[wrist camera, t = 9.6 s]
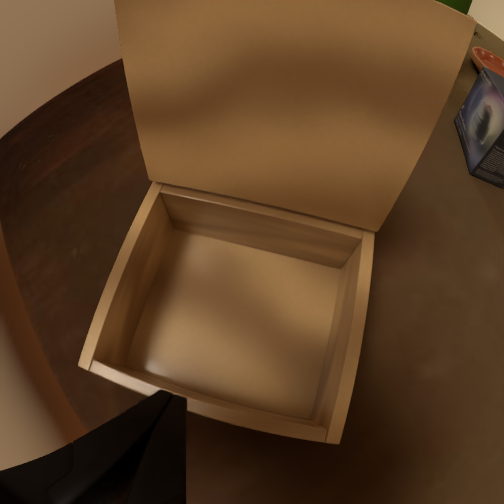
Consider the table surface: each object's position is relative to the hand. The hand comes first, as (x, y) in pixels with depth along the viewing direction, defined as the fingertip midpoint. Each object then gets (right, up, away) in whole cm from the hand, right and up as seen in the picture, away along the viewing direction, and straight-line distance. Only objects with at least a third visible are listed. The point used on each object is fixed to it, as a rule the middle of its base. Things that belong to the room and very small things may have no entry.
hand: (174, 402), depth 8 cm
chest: (+1, -1, +13) cm, 13 cm away
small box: (+32, +17, +22) cm, 42 cm away
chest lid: (+3, +11, +4) cm, 12 cm away
